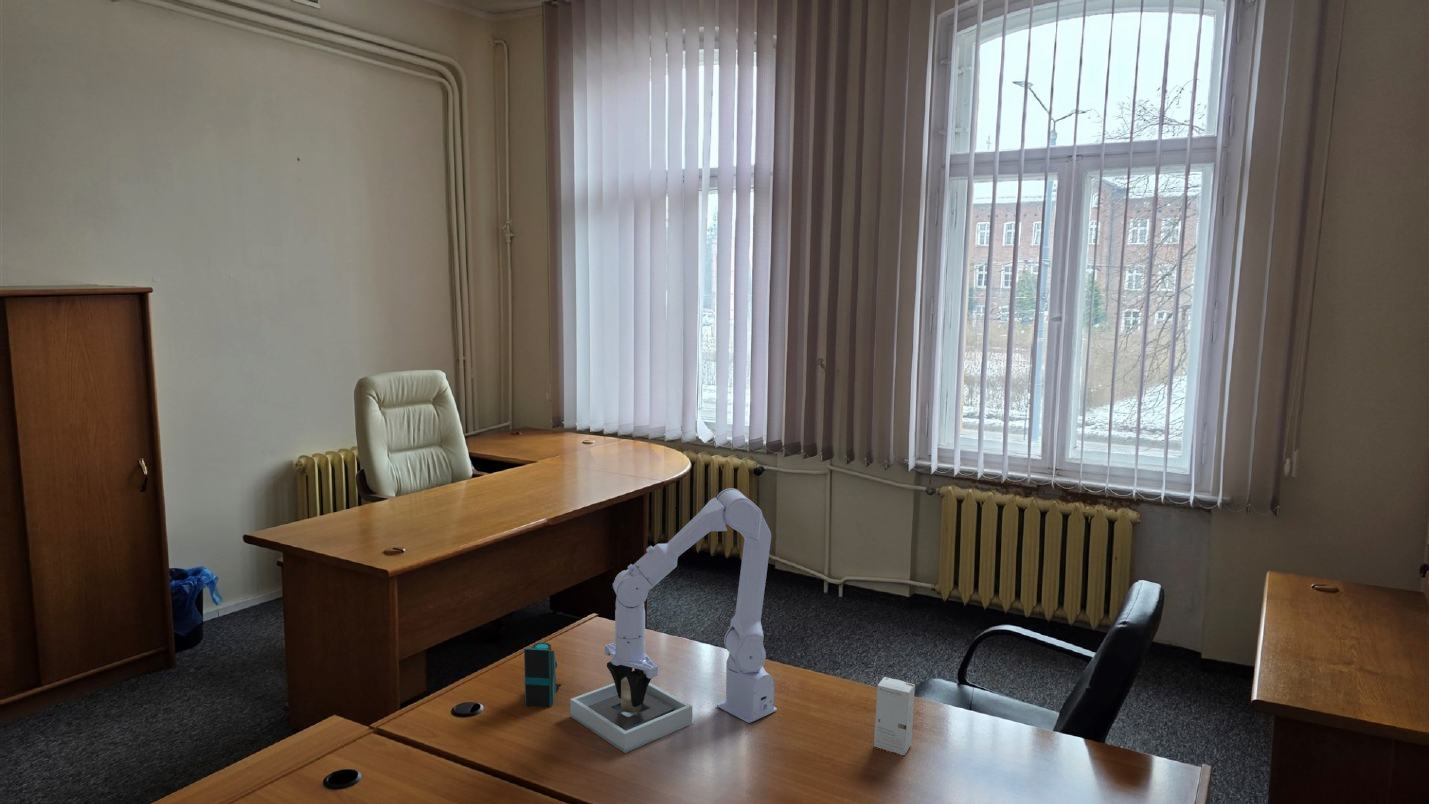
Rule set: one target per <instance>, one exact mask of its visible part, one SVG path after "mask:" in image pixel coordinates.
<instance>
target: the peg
mask: <svg viewBox="0 0 1429 804" xmlns="http://www.w3.org/2000/svg"><path fill="white" fill-rule="evenodd" d="M641 708H642V705H639V706H637V707H634V706H632V702H631V691H630V686H629V682H628V680H627V678H626V677H624V678H623V679H622V680H621V710H622V711H624V712H629V713H633V712H637V711H639V710H641Z"/></svg>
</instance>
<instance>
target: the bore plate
mask: <svg viewBox="0 0 1429 804" xmlns="http://www.w3.org/2000/svg"><path fill="white" fill-rule="evenodd" d="M587 707H589V708H590V709H592V710H594V711H595V712H597V713H598V714H600V715H601V716H603V717H605V718H606V719H608V720H609V721H611V722H612V723H614V724H616V725H617V726H619V727H620V728H622V729H623V730H625V731H627V730H629V729H632V728H634V727H637V726H639V725H641V724H644V723H646V722H649V721H651V720H653V719H656V718H658V717H661V716H663V715H665V714H668V713H670V712H673V711H674V708H672V707H671V706H669V705H667V704H665V703H663V702H662V701H660V700H658V699H656V698H655V697H653V696H651V695H649V694H648V693H645V697H644V701H643V704H642V708H641V710H639V711H641V712H640V713H637V714H635V715H632V716H630V717H626V716H625V715H623V714H621V712H624V711H622V710H621V699H620V698H619V697H618V695H616V696H613V697H611V698H608V699H605V700H603V701H600V702H597V703H595V704H592V705H589V706H587Z"/></svg>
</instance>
